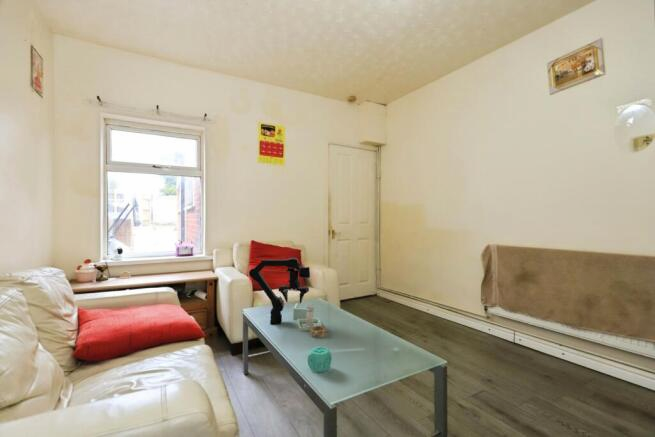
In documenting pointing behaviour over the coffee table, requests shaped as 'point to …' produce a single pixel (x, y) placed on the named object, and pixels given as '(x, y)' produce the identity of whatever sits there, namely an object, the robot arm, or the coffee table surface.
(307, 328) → the parts tray
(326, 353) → the decorative dice
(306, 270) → the robot arm
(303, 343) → the coffee table surface
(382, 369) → the coffee table surface
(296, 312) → the right angle wall
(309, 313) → the ball
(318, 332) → the tan square frame block
